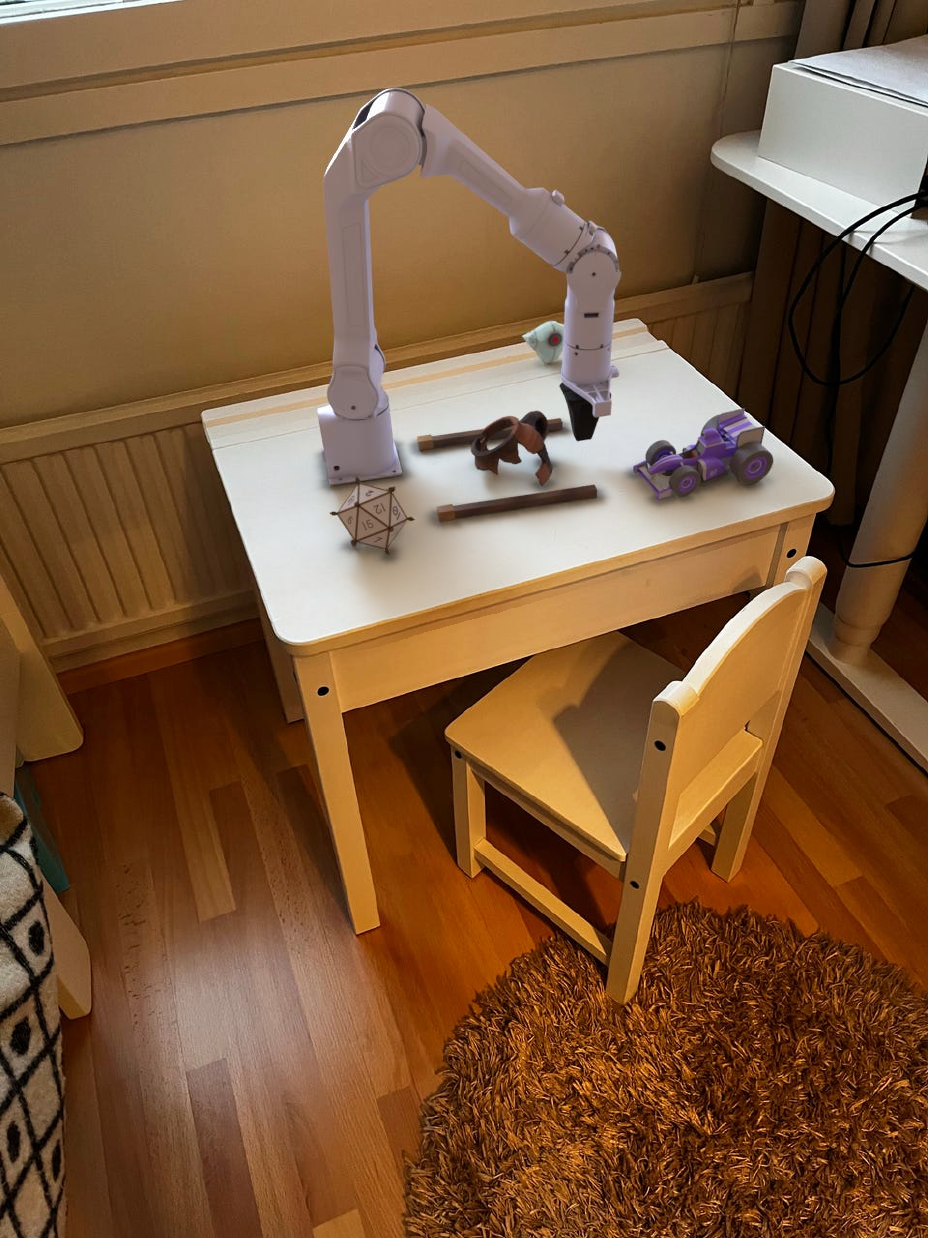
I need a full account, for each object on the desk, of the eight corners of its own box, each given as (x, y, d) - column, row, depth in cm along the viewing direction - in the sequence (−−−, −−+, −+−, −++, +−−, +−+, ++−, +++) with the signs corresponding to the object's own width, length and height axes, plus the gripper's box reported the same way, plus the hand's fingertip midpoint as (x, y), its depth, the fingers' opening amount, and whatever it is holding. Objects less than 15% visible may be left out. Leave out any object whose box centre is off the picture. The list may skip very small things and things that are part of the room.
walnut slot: (439, 522, 112) (438, 512, 111) (417, 445, 124) (416, 436, 123) (597, 497, 114) (597, 488, 113) (560, 424, 126) (560, 415, 125)
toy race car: (627, 466, 118) (631, 422, 114) (729, 441, 121) (737, 398, 117) (662, 507, 112) (668, 462, 107) (769, 480, 115) (780, 435, 110)
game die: (366, 561, 112) (334, 485, 111) (429, 537, 111) (397, 459, 109) (346, 575, 104) (311, 493, 102) (414, 549, 102) (379, 465, 100)
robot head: (568, 352, 141) (569, 310, 137) (579, 364, 138) (581, 321, 134) (520, 362, 140) (520, 320, 135) (530, 374, 137) (530, 332, 132)
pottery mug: (539, 503, 114) (505, 455, 109) (486, 508, 121) (451, 463, 116) (579, 436, 119) (548, 388, 114) (525, 444, 126) (494, 399, 121)
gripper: (640, 362, 104) (630, 463, 113) (602, 308, 114) (596, 404, 123) (579, 371, 103) (575, 471, 112) (547, 315, 113) (545, 412, 123)
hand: (582, 437), depth 118 cm, fingers closed
